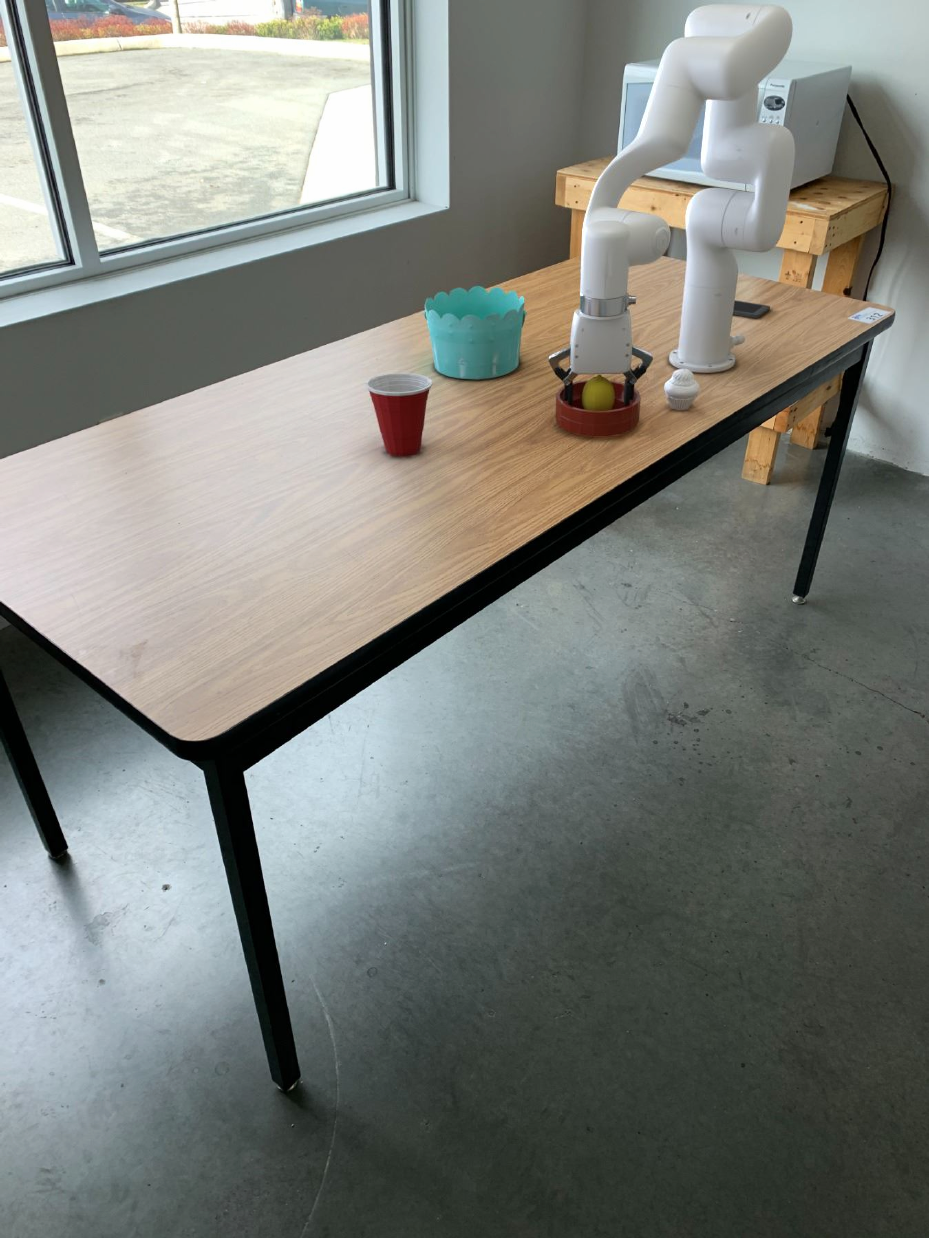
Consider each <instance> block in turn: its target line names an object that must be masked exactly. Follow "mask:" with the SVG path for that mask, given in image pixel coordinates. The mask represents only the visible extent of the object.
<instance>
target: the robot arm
mask: <svg viewBox="0 0 929 1238" xmlns="http://www.w3.org/2000/svg"><path fill="white" fill-rule="evenodd" d="M793 30H794V29H793V20H792V17H791V15H790V13H789V12H788V11H787V10H786V9H785V8H784V7H782V6H780V5H776V4H743V3H742V4H740V3H714V4H713V3H712V4H705V5H701V6H699V7H697V8H695V9H693V10H692V11H691V12H690V13H689V15H688V16H687V17H686V21H685V26H684V36H682V37H678V38H676V39H674V40H673V41H671V42H670V43H669V44H668V45H667V46H666V48H665V49H664V51H663V54H662V56H661V59H660V63H659V66H658V69H657V72H656V75H655V77H654V82H653V84H652V87H651V91H650V93H649V97H648V100H647V103H646V107H645V109H644V113H643V116H642V118H641V123H640V126H639V129H638V131H637V134H636V136H635V137H634V139H633V140H632V141H631V142H630V143H629V144H628V145H627V146H626V147H624V148H623V149H622V150H621V151H620V152H619V153H618V154H617V155H616V156H615V157H614V158H612V160H611V162H610V163H609V164H608V165H607V166H606V167H605V169H604V170H603V171H602V172H601V174H600V175H599V176H598V178H597V180H596V182H595V184H594V187H593V189H592V192H591V195H590V199H589V202H588V205H587V208H586V212H585V214H584V219H583V224H582V231H581V234H582V235H581V254H580V255H581V258H580V283H579V285H580V286H579V308H577V309H575V310H574V313H573V316H572V322H571V330H570V339H569V345H568V346H566V347H564V348H562V349H560V350H558V351H556V352H554V353H553V354H550V355H549V356H548V358H547V359H548V364H549V366H550V368H551V369H552V371H553V373H554V375H555V376H556V377H557V378H558V379H559V380H560V381H561V382H563V383H562V384H563V387H564V401H568V405H570V406H572V407H573V383H574V380H575V379H576V378H577V377H578V376H579V375H621V374H622V375H623V376H624V377H625V379H624V384H625V385H624V403H625V406H629V405H630V400H633V399H634V388H635V384H636V383H637V382H638V381H639V379H640V378H641V377H643V376H644V375H645V374H646V373H647V370H648V368H650V366H651V364H652V362H653V360H654V355H653V354H652V353H650V352H648V351H647V350H644V349H642V348H640V347H638V346H637V345H634V344H633V331H632V330H633V329H632V316H631V315H632V314H631V310H630V309H629V306H632V305H636V303H637V296H636V295H631V294H630V293H629V292H628V288H629V287H628V286H629V284H628V283H629V272H630V271H629V269H630V268H631V267H636V266H645V265H649V264H653V263H654V262H656V261H658V260H660V259H661V258H662V257H663V256H664V255H665V253H666V252H667V250H668V248H669V246H670V243H671V237H672V236H671V228H670V226H669V224H668V222H667V221H666V220H665V219H664V218H662V216H660V215H657V214H655V213H649V212H641V211H636V210H632V209H624V208H619V204H620V202H621V199H622V198H623V196H624V194H625V192H626V191H627V190H628V188H629V187H630V186H631V185H632V184H634V183H635V182H636V181H637V180H638V179H640V178H642V177H643V176H644V175H647V174H649V173H652V172H654V171H655V170H657V169H660V168H663V167H666V166H668V165H670V164H674V163H675V162H677V161H680V160H682V159H683V158H685V157H686V156H687V154H688V153H689V150H690V149H691V145H692V142H693V138H694V135H695V133H696V129H697V126H698V123H699V120H700V117H701V114H702V111H703V108H704V105H705V111H704V112H705V113H704V121H703V128H702V129H703V130H702V131H703V132H702V139H701V150H700V151H701V152H700V167H701V171H702V173H703V175H705V176H706V177H707V178H710V179H712V180H715V181H720V182H721V181H722V182H726V183H727V182H728V183H736V184H743V185H751V186H753V189H754V191H745V190H739V189H731V188H724V187H707V188H704V189H701V190H699V191H697V192H696V193H695V194H694V195H693V196H692V197H691V198H690V200H689V201H688V204H687V207H686V210H685V218H684V219H685V220H684V223H685V237H686V264H685V265H686V267H685V275H684V285H683V286H684V287H683V294H682V295H683V296H682V307H681V318H680V325H679V326H680V327H679V338H678V347H677V348H675V349H673V350H671V352H670V353H669V356H668V362H669V363H670V364H671V365H672V366H674V367H675V368H677V369H688V370H690V371H691V372H692V373H701V374H703V373H704V374H710V373H711V374H712V373H720V372H723V371H727V370H729V369H731V368H732V367H734V365H736V356H735V355H734V353H733V352H732V349H734V347H736V346H739V345H742V344H744V343H745V339H746V338H745V336H744V334H743V333H739V334H736V335H733V336H732V335H731V332H732V331H731V330H732V324H733V316H734V314H733V309H734V301H735V300H736V293H737V285H738V279H739V278H738V277H739V266H738V261H737V258H736V256H735V253H734V250H737V251H745V252H750V253H766V252H767V253H768V252H770V251H771V250H773V249H774V248H775V247H776V246H777V245H778V244H779V241H780V240H781V237H782V234H783V231H784V228H785V223H786V219H787V218H786V217H787V211H788V204H789V198H790V193H791V187H792V186H791V185H792V180H793V175H794V166H795V159H796V143H795V138H794V135H793V134H792V132H791V130H790V129H788V128H787V127H785V125H781V124H776V123H767V122H758V120H757V113H758V112H757V111H758V101H759V91H760V89H759V84H760V83H761V82H762V81H763V80H764V79H765V78H766V77H767V76H769V74H771V73H772V72H773V71H774V70H775V69H776V68H777V67H778V66H779V65H780V63H781V62H782V61H783V59H784V58H785V56H786V55H787V52H788V50H789V48H790V46H791V42H792V38H793ZM633 356H634V357H635V358H638V359H640V361H641V362H640V363H639V364H638V365H637V366H636V367H634V369H632V362H633V361H632V360H633V359H632V358H633ZM567 358H569V364H570V366H569V367H568V368H567V369H566V370H565V369H564V368H562V366H560V362H561V361H563V360H566V359H567Z"/></svg>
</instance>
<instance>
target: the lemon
mask: <svg viewBox="0 0 929 1238" xmlns="http://www.w3.org/2000/svg"><path fill="white" fill-rule="evenodd" d="M588 380H589V381H588V382H587V383H586V384H585V386H584V389H583V393H582V405H583V408H584V410H592V411H609V410H611V409H612V407H613V404H614V400H615V394H614V388H613V385H612V383H611V382H610V381H611V380H609V379H608V378H607V377H605V376H603V375H602V374H596V376H593V377H591V378H589V379H588Z"/></svg>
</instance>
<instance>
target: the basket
mask: <svg viewBox="0 0 929 1238" xmlns="http://www.w3.org/2000/svg"><path fill="white" fill-rule="evenodd" d="M423 305H424V310H425V311H424V313H423V317H424V319H425V320H426V321H427V324H426V325H427V327H428V332H429V339H430V343H431V344H430V345H431V349H432V357H433V362H434V368H435V370H436V372H438V373H439V374H441V375H443V376H445V377H446V376H447V377H449V378H455V379H459V380H460V379H462V380H476V381H478V380H488V379H494V378H498V377H502V376H504V375H508V374H510V373H512V372H513V371H515V370H516V369H517V368H518V366H519V364H520V353H521V342H522V333H523V332H522V331H523V327H524V325H525V320H526V316H527V311H526V310H525V297H524V295H521V296H520V297H519V296H518V293H517V292H516V291H515V290H510V291H508V292H507V293H506V292H505V290H504V289H503V288H501V287H500V286H499V287H498V286H496V287H495V286H494V287H492V288H491V289H490V290H489V291H488V290H487V289H486V288H485V287H483V286H482V285H481V286H480V285H475V286H472V287H471V288H470V289H468V290H466V289H465V288H462V287H455V288H453V289H451V290H449V294H448V293H447V292H445V291H439V292H437V293H436V294H435V295H434V298H432V297H430V296H429V297H427V298H425V304H423Z"/></svg>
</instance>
